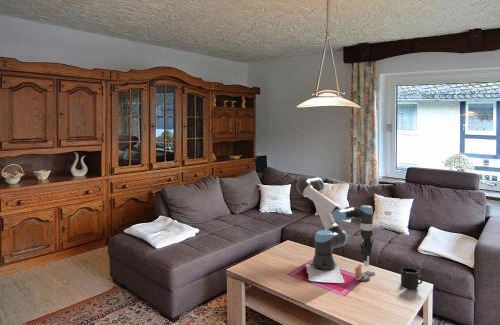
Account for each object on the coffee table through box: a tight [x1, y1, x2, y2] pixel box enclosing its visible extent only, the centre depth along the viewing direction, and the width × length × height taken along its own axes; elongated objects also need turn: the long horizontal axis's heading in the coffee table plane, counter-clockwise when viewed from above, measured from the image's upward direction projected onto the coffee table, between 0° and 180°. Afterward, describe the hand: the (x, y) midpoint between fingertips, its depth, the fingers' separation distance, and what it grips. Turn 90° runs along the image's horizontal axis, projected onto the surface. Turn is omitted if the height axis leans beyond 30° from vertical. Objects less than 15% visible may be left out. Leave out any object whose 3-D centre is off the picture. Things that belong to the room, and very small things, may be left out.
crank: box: [356, 264, 366, 280], centre depth 215 cm, size 10×4×8 cm, turn 144°
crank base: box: [354, 267, 371, 282], centre depth 217 cm, size 9×11×8 cm
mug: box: [400, 267, 423, 289], centre depth 206 cm, size 9×12×9 cm
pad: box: [363, 270, 376, 277], centre depth 227 cm, size 11×11×1 cm
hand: (366, 265), depth 227 cm, fingers closed
